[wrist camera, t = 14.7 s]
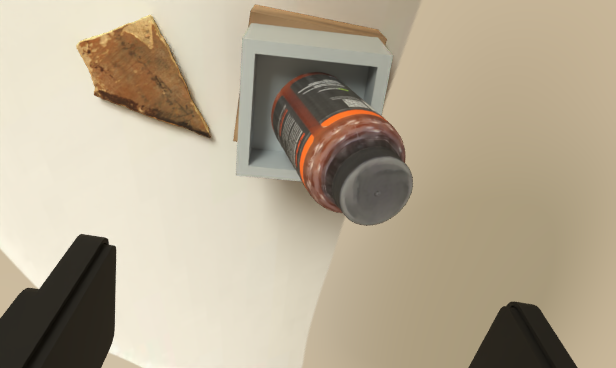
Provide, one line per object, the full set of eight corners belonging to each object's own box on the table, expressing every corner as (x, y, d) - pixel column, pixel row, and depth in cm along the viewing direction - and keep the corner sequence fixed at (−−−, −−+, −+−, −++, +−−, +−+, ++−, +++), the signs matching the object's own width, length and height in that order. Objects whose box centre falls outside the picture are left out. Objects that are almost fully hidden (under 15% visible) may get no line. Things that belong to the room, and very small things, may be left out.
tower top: (251, 22, 33) (242, 38, 28) (378, 37, 34) (393, 55, 28) (244, 142, 37) (235, 175, 32) (357, 153, 38) (367, 187, 33)
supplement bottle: (285, 162, 34) (337, 260, 24) (255, 90, 30) (302, 171, 21) (359, 129, 34) (438, 213, 25) (338, 55, 31) (420, 119, 21)
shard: (213, 131, 42) (210, 139, 40) (137, 157, 43) (131, 165, 41) (157, 10, 37) (150, 14, 35) (72, 43, 38) (62, 47, 36)
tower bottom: (255, 3, 37) (250, 11, 33) (377, 28, 38) (386, 39, 34) (239, 121, 41) (233, 141, 37) (348, 140, 42) (354, 161, 38)
